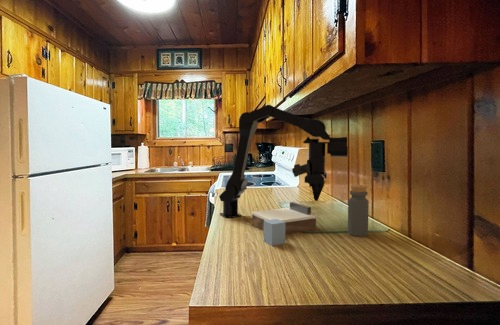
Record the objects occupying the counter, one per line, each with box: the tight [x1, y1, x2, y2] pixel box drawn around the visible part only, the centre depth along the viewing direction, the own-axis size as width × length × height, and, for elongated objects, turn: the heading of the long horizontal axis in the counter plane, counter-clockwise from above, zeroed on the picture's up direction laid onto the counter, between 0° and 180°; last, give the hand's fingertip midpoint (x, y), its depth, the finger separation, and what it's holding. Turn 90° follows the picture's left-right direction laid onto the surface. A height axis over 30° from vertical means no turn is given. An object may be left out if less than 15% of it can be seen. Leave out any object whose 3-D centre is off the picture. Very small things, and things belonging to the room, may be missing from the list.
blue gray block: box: [263, 219, 286, 247], centre depth 84 cm, size 4×4×6 cm
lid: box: [251, 201, 318, 222], centre depth 99 cm, size 14×16×3 cm
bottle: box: [347, 184, 370, 238], centre depth 91 cm, size 6×6×15 cm
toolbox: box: [251, 214, 317, 235], centre depth 99 cm, size 14×16×4 cm
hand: (316, 200), depth 106 cm, fingers closed
